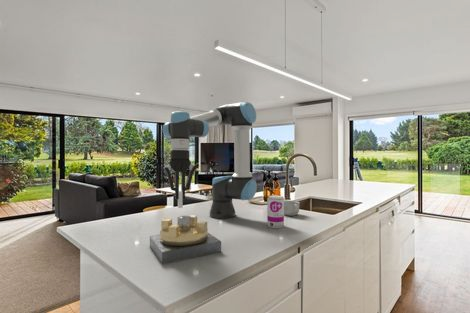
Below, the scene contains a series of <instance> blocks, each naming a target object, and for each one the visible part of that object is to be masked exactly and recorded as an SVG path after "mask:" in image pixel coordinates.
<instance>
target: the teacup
mask: <svg viewBox="0 0 470 313" xmlns="http://www.w3.org/2000/svg"><path fill="white" fill-rule="evenodd" d="M299 212H300V201H296V200H284V216H290V217H292V216H293V217H294V216H297V215H298V214H299Z"/></svg>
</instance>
